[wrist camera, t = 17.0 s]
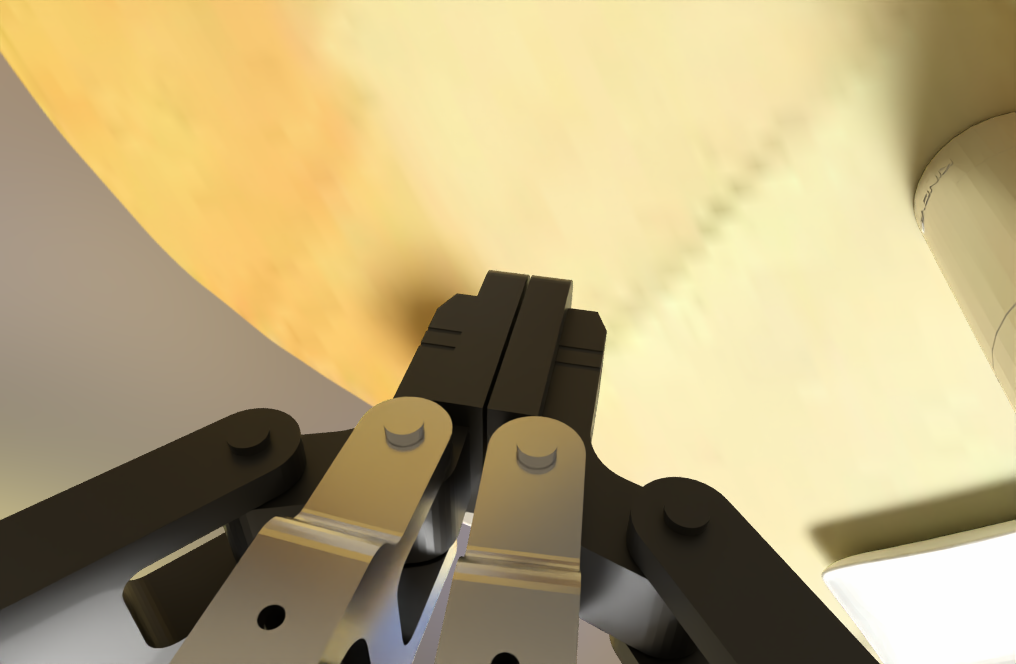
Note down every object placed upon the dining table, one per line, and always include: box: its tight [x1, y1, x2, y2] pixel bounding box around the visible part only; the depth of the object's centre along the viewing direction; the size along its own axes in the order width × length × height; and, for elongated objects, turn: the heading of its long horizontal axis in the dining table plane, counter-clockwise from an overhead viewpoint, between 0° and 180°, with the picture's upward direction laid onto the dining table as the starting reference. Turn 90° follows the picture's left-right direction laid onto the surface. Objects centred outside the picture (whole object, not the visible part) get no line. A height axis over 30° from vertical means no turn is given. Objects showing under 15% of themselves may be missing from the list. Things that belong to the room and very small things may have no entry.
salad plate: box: [822, 520, 1016, 664], centre depth 59 cm, size 21×21×3 cm
